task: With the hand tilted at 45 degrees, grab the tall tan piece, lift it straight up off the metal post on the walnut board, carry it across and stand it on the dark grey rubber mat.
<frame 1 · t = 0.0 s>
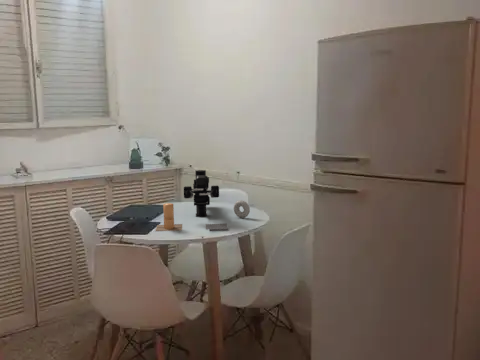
hand: (201, 194, 255), 17 cm above the table, tool horizontal, fingers open, 9 cm apart
donut: (241, 218, 275), on the table
tan piece: (169, 227, 251), point 1 cm above the table, touching post board
mat: (216, 228, 252), on the table
post board: (169, 229, 251), on the table
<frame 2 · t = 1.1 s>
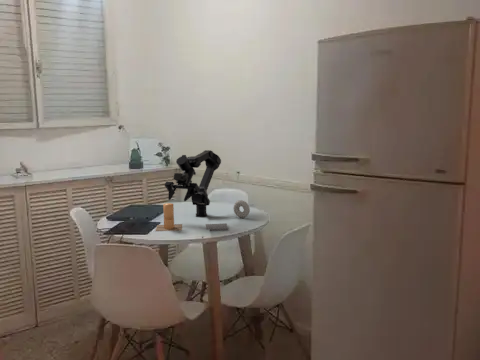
hand: (176, 200, 256), 14 cm above the table, tool tilted 45°, fingers open, 9 cm apart
nothing on the table moved.
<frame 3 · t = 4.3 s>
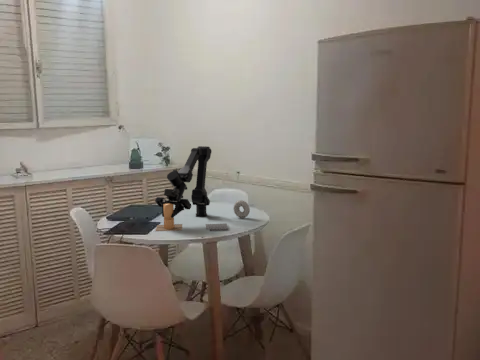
hand: (167, 217, 249), 7 cm above the table, tool tilted 45°, fingers closed on tan piece, 5 cm apart
tan piece: (169, 227, 251), point 1 cm above the table, touching gripper, post board
everything else where it was.
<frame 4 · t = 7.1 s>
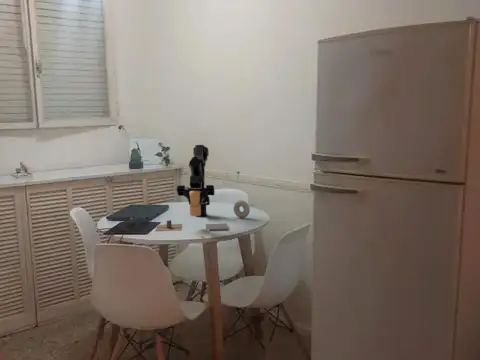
hand: (194, 204, 246), 13 cm above the table, tool tilted 45°, fingers closed on tan piece, 5 cm apart
tan piece: (195, 214, 249), point 8 cm above the table, touching gripper
everything else where it was.
when the fingers open (8 cm above the table, at t = 10.0 s): tan piece drops 1 cm, resting on mat.
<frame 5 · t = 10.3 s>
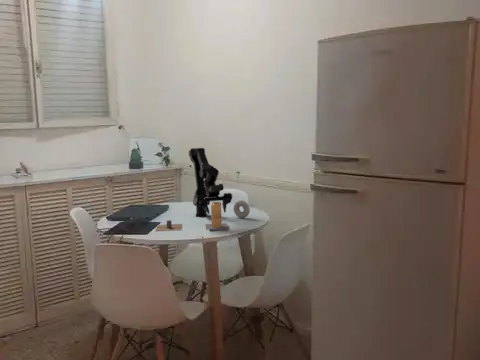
hand: (217, 212, 250), 8 cm above the table, tool tilted 45°, fingers open, 8 cm apart
tan piece: (216, 226, 252), point 1 cm above the table, touching mat
everything else where it was.
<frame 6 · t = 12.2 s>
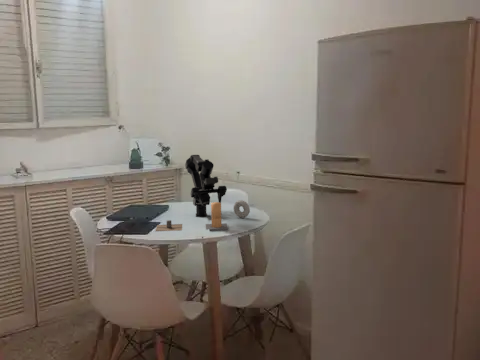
hand: (211, 204, 258), 11 cm above the table, tool tilted 45°, fingers open, 9 cm apart
nothing on the table moved.
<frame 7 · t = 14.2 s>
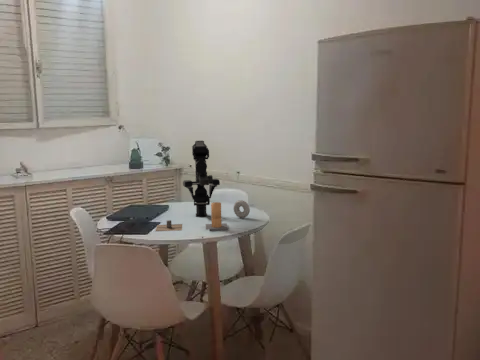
hand: (201, 198, 263), 13 cm above the table, tool pointing down, fingers open, 9 cm apart
nothing on the table moved.
at the end: tan piece inside the target area on the mat (0.0 cm from its centre), point 1.0 cm above the mat's base; tan piece tilted 0°; the gripper is holding nothing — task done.
